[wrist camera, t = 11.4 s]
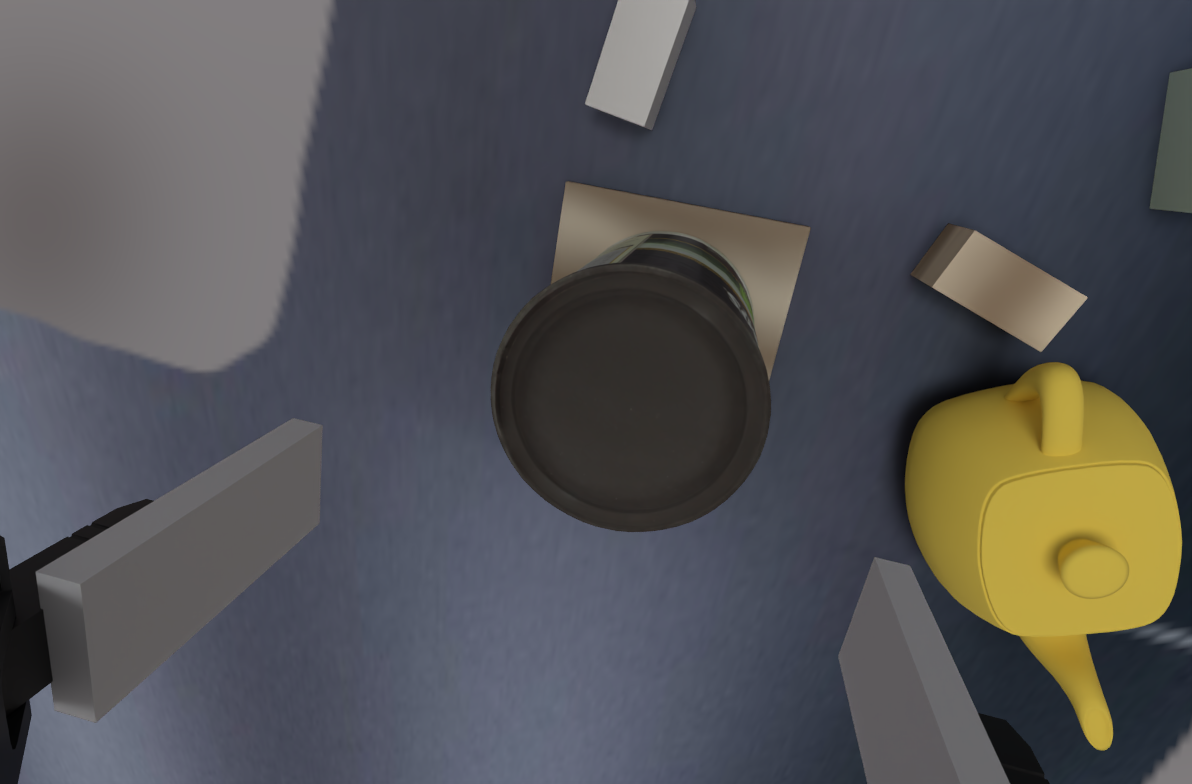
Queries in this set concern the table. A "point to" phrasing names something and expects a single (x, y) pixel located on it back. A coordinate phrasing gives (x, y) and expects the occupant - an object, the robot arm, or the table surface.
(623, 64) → the off-white brick
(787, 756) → the table surface
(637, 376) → the coffee can
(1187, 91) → the pale green brick
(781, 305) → the trivet
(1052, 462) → the teapot
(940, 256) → the beech brick
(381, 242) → the table surface
